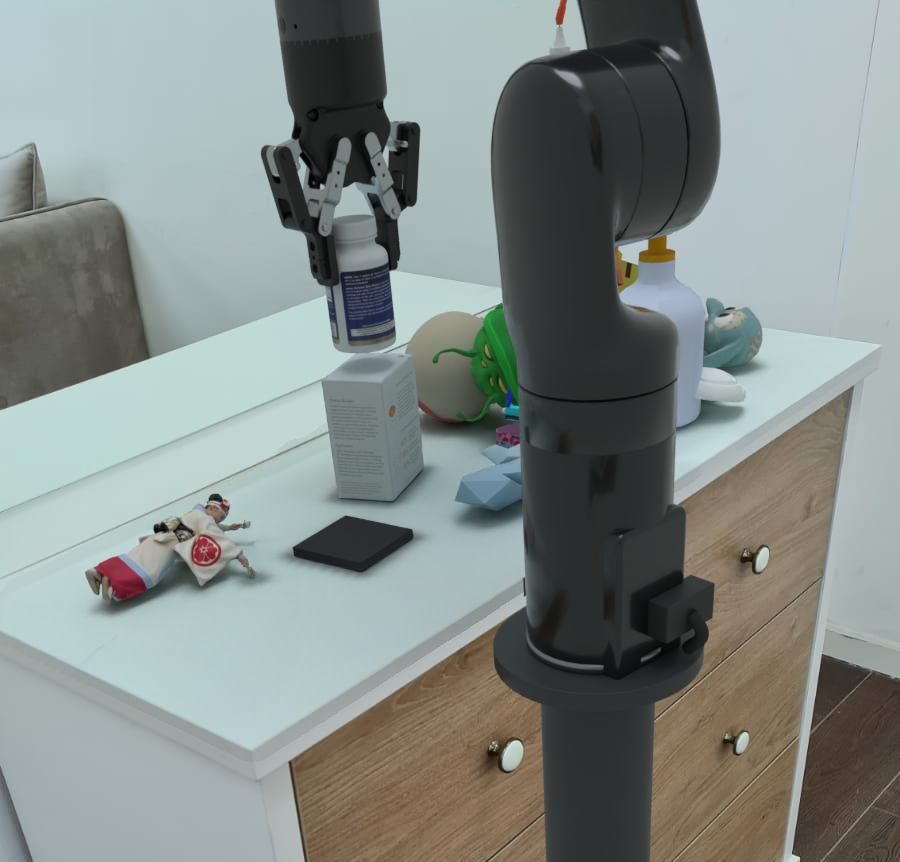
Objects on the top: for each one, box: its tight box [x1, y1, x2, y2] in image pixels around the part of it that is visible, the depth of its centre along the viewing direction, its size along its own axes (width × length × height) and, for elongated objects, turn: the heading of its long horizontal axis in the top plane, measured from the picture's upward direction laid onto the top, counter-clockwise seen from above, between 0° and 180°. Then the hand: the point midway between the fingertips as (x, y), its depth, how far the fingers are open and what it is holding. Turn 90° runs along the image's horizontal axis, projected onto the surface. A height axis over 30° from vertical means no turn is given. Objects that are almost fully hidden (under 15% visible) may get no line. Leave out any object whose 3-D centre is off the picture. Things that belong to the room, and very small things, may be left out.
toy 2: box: [404, 310, 490, 423], centre depth 116 cm, size 10×12×10 cm
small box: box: [321, 352, 425, 502], centre depth 103 cm, size 8×6×10 cm
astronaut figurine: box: [695, 367, 747, 403], centre depth 115 cm, size 9×12×3 cm
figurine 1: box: [84, 493, 258, 606], centre depth 93 cm, size 6×8×15 cm
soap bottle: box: [619, 233, 706, 429], centre depth 107 cm, size 9×9×25 cm
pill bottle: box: [324, 214, 397, 354], centre depth 96 cm, size 5×5×10 cm
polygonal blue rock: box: [453, 443, 522, 512], centre depth 99 cm, size 13×7×5 cm, turn 135°
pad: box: [292, 514, 414, 573], centre depth 95 cm, size 7×7×1 cm
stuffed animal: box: [703, 297, 763, 369], centre depth 125 cm, size 11×7×12 cm
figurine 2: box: [432, 303, 519, 422], centre depth 108 cm, size 13×15×10 cm
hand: (358, 276), depth 95 cm, fingers closed on pill bottle, 5 cm apart
